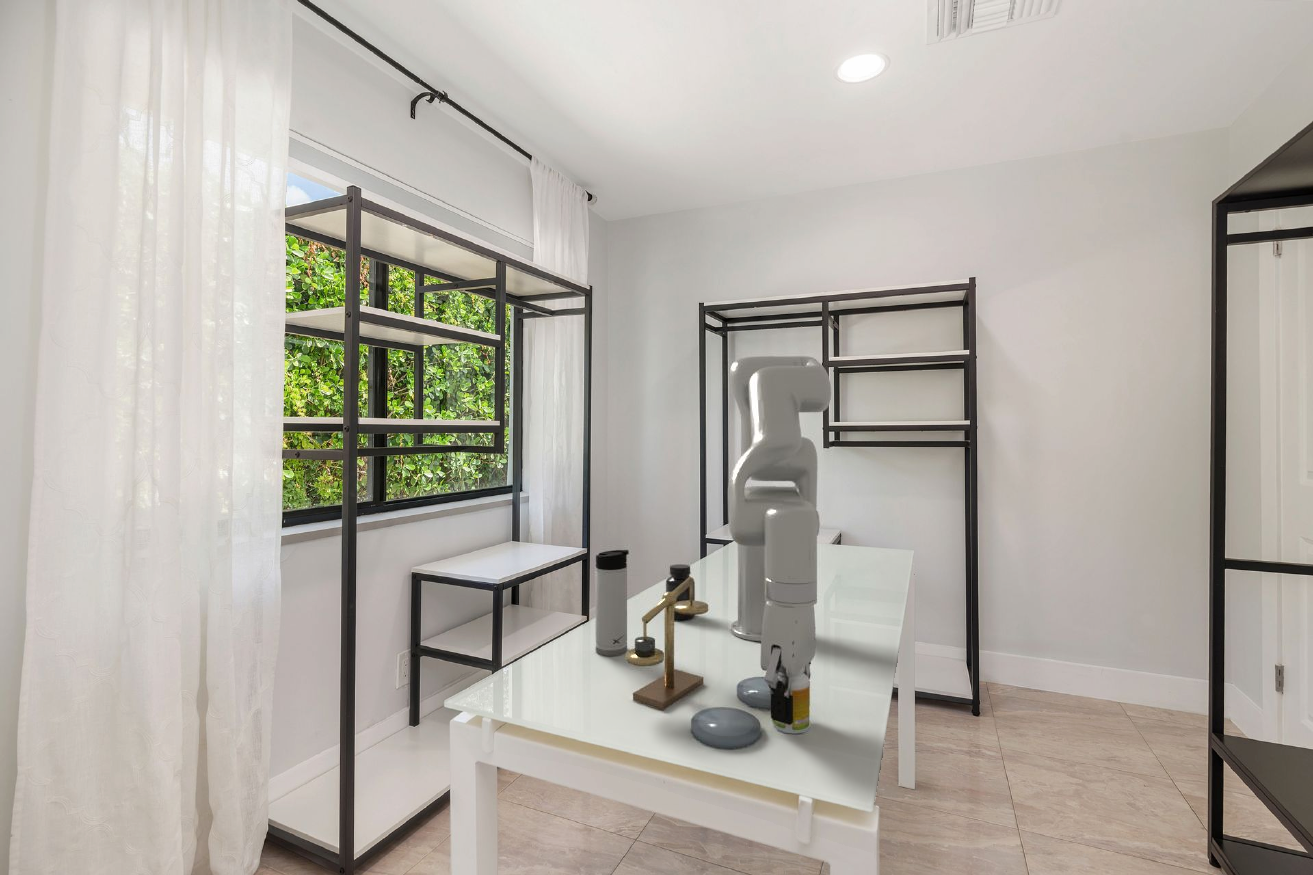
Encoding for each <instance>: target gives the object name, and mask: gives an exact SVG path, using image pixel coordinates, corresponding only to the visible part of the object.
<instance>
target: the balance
mask: <svg viewBox="0 0 1313 875" xmlns="http://www.w3.org/2000/svg"><path fill="white" fill-rule="evenodd" d="M694 582H695V580H694V578H693V577H692V576H690V577H689V578H688V579H687V580H685V581H684V582H683V583H682V584H681V585H680V586H678V587H677V588H676V589H675V590H674V591H673V592H666V591H665V592H664V593H663V595H662V597H661V599H662V600H660V602H658V603H657V604H656V605H655V606H654V607H653V608H651V609H650V610H649V611H648V612H647V613H646V614H645V615H643V616H642V618H641V621H642V623H643V624H642V628H643V630H642V631H643V633H642V636H637V637H635V639H634V648H631V649H628V650H627V651H626V652H625V661H626V662H627V664H629V665H633V666H636V667H652V666H657V665H660V664H662V663H663V662H664V674H663V675H662V676H660V677H658V678H656V679H655V680H653V681H652V682H649V683H648V684H646V685H644V686H643V687H641V688H639V689H637V690H636V691H634V692H632V701H634V702H635V703H636V702H637V703H640V704H643V705H646V706H649V707H652V708H655V709H658V710H661V711H665V710H666V709H668V708H669V707H671V706H672V705H674V704H676V703H677V702H679V701H680V700H682V699H684V698H685V697H686V696H688V695H689V694H691V693H692V692H694V691H696V690H697V689H698V688H700V687H701V686H703V685H705V684H704V681H705V680H704V676H701V675H697V674H694V673H689V672H686V671H683V670H679V669H676V668H675V620H674V611H675V612H677V613H680V614H685V615H695V616H696V615H703V614H706V613H708V612H709V604H708V603H707V602H704V601H700V600H695V601H693V583H694ZM689 586H690V600H688V601H680V602H677V603H676V598H677V597H678V596H679V595H680V594H681V593H682V592H684V591H685V590H686V589H687V588H688V587H689ZM663 610H664V650H661V649H659V648H657V647H656V639H655V638H654V637H652V636H647V627H648V626H647V624H649V623H650V621H652V620H653V619H654V618H655V617H656V616H658V615H659V613H661V612H662V611H663Z"/></svg>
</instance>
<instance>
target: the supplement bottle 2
mask: <svg viewBox="0 0 1313 875" xmlns="http://www.w3.org/2000/svg"><path fill="white" fill-rule="evenodd" d="M804 669H805V667H804V668H802V669H801V670H800V671H799V672H797V673H796V674H794V675H793V678H792V686H791V694H790V695H791V696H793V723H792V724H791V725H788V724H785V723H782V722H778V721H775V720H772V719H771V721H772V722H771V723H772V726H773V727H774V728H775V729H776V730H778V731H780V732H782V733H785V734H793V735H794V734H802V733H805V732H807V731H808V730H809V728H810V723H811V722H810V721H811V720H810V717H811V716H810V706H811V705H809V700H811V694H810V693H811V692H809V691H811V689H810V690H809V681H810V679H809V678H808V677H807V675H806V674H804V673H803V672H804ZM779 671H782V672H786V668H782V667H780V669H779ZM778 678H779V681H782V682H783V684H784V685H785V680H786V678H785V677H781V676H778ZM809 697H810V698H809Z"/></svg>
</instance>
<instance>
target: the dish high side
mask: <svg viewBox="0 0 1313 875" xmlns="http://www.w3.org/2000/svg"><path fill="white" fill-rule="evenodd" d="M769 689H770V688H769V685H768V684H767V682H766V681H765V676H753V677H748V678H744V679H742V680H741V681H739V682H738V684H736V697H737V699H738V700H739V702H740V703H742V704H744V705H746V706H747V707H751V708H753V709H758V710H761V711H770V712H771V693H770V691H769Z"/></svg>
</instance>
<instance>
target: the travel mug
mask: <svg viewBox="0 0 1313 875" xmlns="http://www.w3.org/2000/svg"><path fill="white" fill-rule="evenodd" d="M629 553H630V552H629V549H615V550H612V549H611V550H607V551H606V550H605V551H601V552H599V553H598V554H597V555H595V567H594V568H595V652H596V654H599V655H601V656H606V657H616V656H620V655H623V654H624V653H625V654H626V652H627V651H628V564H627V562H628V560H627V559H628V557H627V556H628V555H629Z"/></svg>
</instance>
